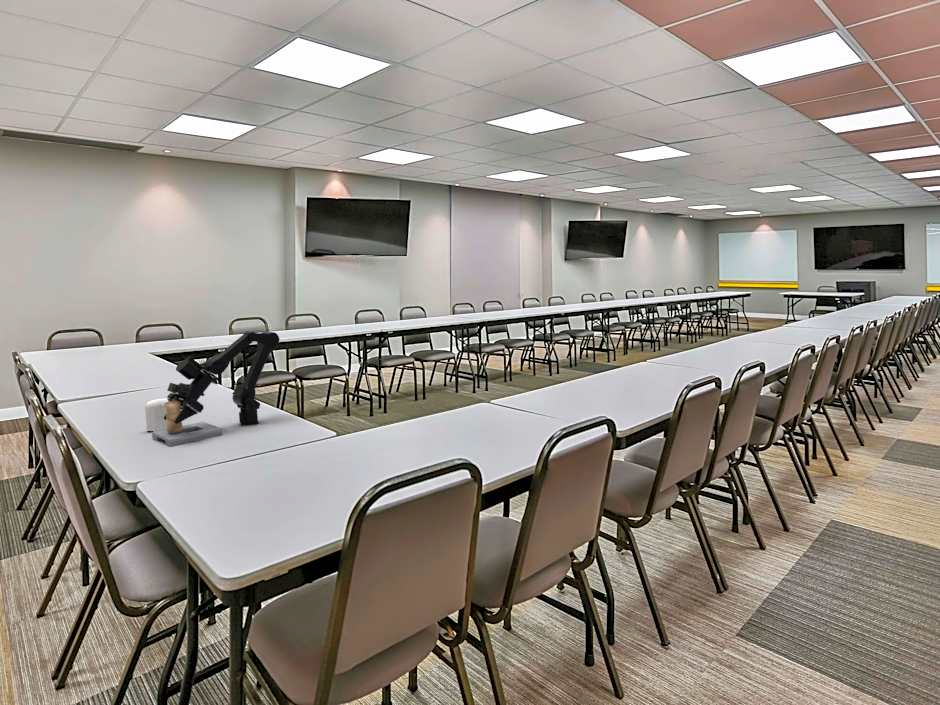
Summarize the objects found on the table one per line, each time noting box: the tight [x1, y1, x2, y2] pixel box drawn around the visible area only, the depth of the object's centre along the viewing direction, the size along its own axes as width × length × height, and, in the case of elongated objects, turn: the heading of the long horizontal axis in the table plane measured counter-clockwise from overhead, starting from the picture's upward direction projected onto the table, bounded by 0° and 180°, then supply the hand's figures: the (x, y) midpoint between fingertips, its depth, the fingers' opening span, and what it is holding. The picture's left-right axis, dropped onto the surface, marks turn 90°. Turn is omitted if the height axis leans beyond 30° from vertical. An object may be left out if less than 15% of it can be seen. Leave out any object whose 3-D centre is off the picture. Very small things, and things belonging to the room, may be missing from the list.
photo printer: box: [144, 398, 169, 432], centre depth 227 cm, size 10×4×12 cm, turn 123°
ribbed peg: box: [165, 401, 183, 434], centre depth 213 cm, size 5×5×14 cm
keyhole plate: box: [151, 421, 224, 447], centre depth 217 cm, size 19×16×2 cm
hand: (169, 421), depth 212 cm, fingers open, 9 cm apart
